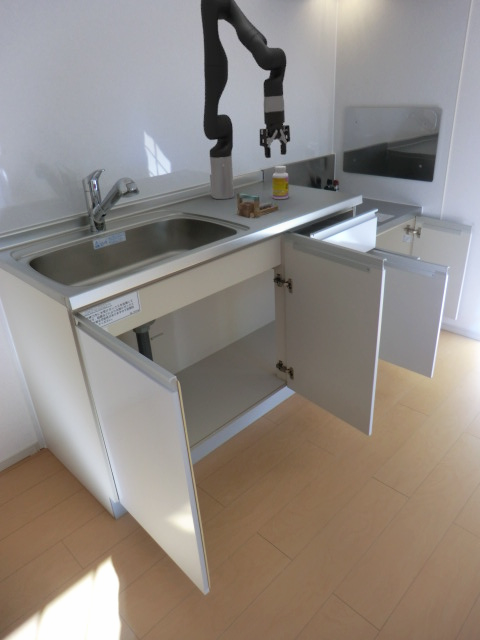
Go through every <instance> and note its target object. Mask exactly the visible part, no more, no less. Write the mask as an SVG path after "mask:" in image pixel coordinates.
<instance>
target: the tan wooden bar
mask: <svg viewBox="0 0 480 640" xmlns="http://www.w3.org/2000/svg"><path fill="white" fill-rule="evenodd" d="M270 207H274V204H273V202H270V201H267V202H262V203H259V210H264V209H267V208H270Z"/></svg>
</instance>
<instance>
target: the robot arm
mask: <svg viewBox="0 0 480 640" xmlns="http://www.w3.org/2000/svg"><path fill="white" fill-rule="evenodd" d="M200 15H201V25H202V36H203V37H202V38H203V55H204V56H203V58H204V59H203V60H204V61H203V65H204V66H203V67H204V69H203V72H204V73H203V74H204V76H203V77H204V107H203V123H202V124H203V127H202V128H203V133H204V135H205V137H206V139H208V140H210V141H214V140H216V144H215V145H214V146H213V147H212V148H210V149H209V160H210V161H209V162H210V163H209V164H210V175H209V178H210V179H209V180H210V181H209V183H210V192H211V193H210V194H211V198H213V199H215V200H228V199H232V198H234V197H235V189H234V176H233V175H234V174H233V157H232V155H233V153H232V152H233V146H234V145H233V144H234V137H233V136H234V135H233V133H234V130H233V127H234V126H233V123H232V120H231V118H230V116H229V115H227V114H219V105H220V100H221V97H222V95H223V93H224V92H225V91H224V90H225V88H226V86H227V85H228V84H227V83H228V79H229V59H228V56H227V53H226V51H225V48H224V45H223V44H222V42H221V41H222V40H221V38H220V34H219V33H220V32H219V21H223V20H224V21H225V22H227V23H228V24H230V25H231V26H232V27H233V28H234V30H235V33H236V36H237V39H238V41H239V42H240V43H241V45H243V47H244V48H245V49H247V51H249V53H250V54H251V55H252V58H253V59H254V61H255V63H256V64H257V66H258V67H259V68H260V69H262V70H264V71H268V72H269V71H270V72H269V76H268V77H267V78H266V79H265V80H264V81H263V118H264V119H263V120H264V125H265V128H260V129H259V146H260V147H263V148H264V157H265V158H266V159H270V158H271V157H272V156H271V155H272V153H271V152H272V151H271V150H272V149H271V145H272V143H273V142H274V141H275V140H278V141H279V143H280V146H279V147H280V155H283V156H285V155H287V144H288V143H290V142H291V131H290V130H291V129H290V127H291V126H290V125H289V124H288V125H287V124H284V123H285V122H286V121H285V120H286V117H285V98H284V80H285V79H284V78H285V75H286V69H287V68H286V67H287V55H286V53H285V51H284V50H283V48H280V47H269V46H268V39H267V38H266V36H265V35H264V34H263V33H262V32H261V31H260V30H259V29H258V28H257V27H256V26H255V24H253V23H252V22H251V21H250V20H249V18H248V17H247V16H246V15H245V13H244V12H243V11H242V9H241V8H240V7H239V5H238V4H237V2H236V1H235V0H200Z"/></svg>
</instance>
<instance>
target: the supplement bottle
mask: <svg viewBox="0 0 480 640" xmlns="http://www.w3.org/2000/svg"><path fill="white" fill-rule="evenodd" d="M274 171H275V172H274V173H273V174H272V198H273V199H274V200H286V199H288V198H289V192H290V191H289V173H287V172H286V171H287V166H285V165H276V166H274Z"/></svg>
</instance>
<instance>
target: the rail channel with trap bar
mask: <svg viewBox="0 0 480 640" xmlns="http://www.w3.org/2000/svg"><path fill="white" fill-rule="evenodd" d="M236 198H237V199H236V200H237V201H236V202H237V211H236V213H237V216H240V206H239V204H240V203H243V199H246V200H252V201H253V202H254V212H253V213H250V217H249V218H250V219H253V218H260V216H263V215H266V214H270V213H272V212H276V211H279V205H275V206H274V205H273V207H270V208H267V209H264V210H259V204H260V196H258V195H252V194H246V193H243V192H238V193H236Z"/></svg>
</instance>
